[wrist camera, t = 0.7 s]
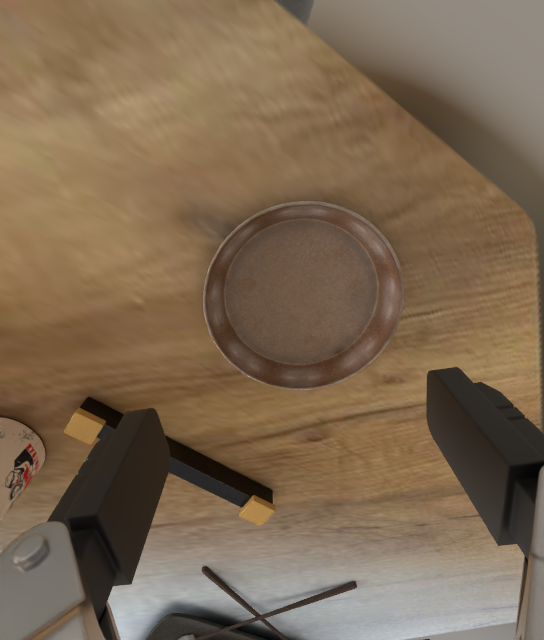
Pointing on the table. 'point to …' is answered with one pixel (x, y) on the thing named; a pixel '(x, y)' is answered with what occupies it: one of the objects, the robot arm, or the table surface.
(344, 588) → the sushi plate
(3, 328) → the table surface
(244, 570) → the table surface
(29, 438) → the teacup with lid
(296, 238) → the plant saucer
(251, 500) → the rail
